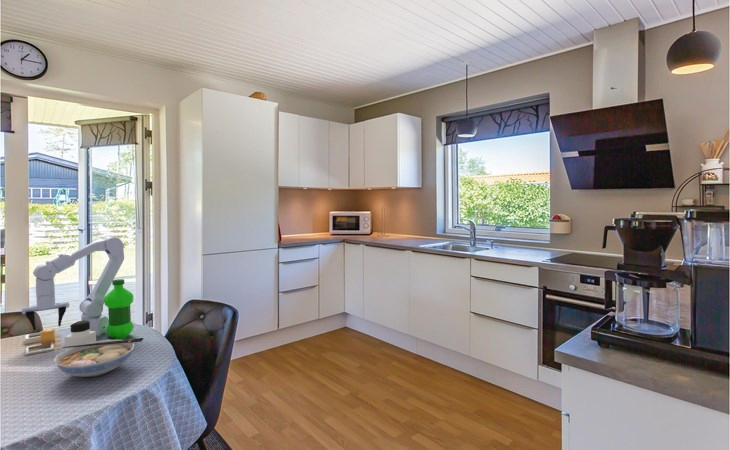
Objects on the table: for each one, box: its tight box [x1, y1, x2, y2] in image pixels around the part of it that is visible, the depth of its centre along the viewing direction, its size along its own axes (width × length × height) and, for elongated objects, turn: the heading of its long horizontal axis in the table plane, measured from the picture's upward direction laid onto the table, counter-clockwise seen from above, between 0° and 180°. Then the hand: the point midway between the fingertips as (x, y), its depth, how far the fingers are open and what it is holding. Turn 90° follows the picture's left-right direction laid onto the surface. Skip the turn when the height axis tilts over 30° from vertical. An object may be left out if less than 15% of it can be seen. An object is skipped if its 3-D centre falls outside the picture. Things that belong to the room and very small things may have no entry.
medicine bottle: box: [64, 319, 97, 351], centre depth 148 cm, size 7×7×12 cm
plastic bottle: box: [104, 278, 134, 340], centre depth 163 cm, size 10×10×25 cm
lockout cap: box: [39, 328, 56, 344], centre depth 153 cm, size 4×4×5 cm
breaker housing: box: [24, 333, 41, 344], centre depth 156 cm, size 6×6×2 cm
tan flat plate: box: [23, 332, 63, 357], centre depth 152 cm, size 23×11×2 cm, turn 40°
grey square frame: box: [24, 342, 54, 357], centre depth 146 cm, size 8×8×1 cm
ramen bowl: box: [53, 337, 144, 378], centre depth 130 cm, size 25×23×8 cm
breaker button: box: [29, 331, 41, 338], centre depth 156 cm, size 3×3×2 cm
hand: (47, 327), depth 153 cm, fingers open, 7 cm apart
